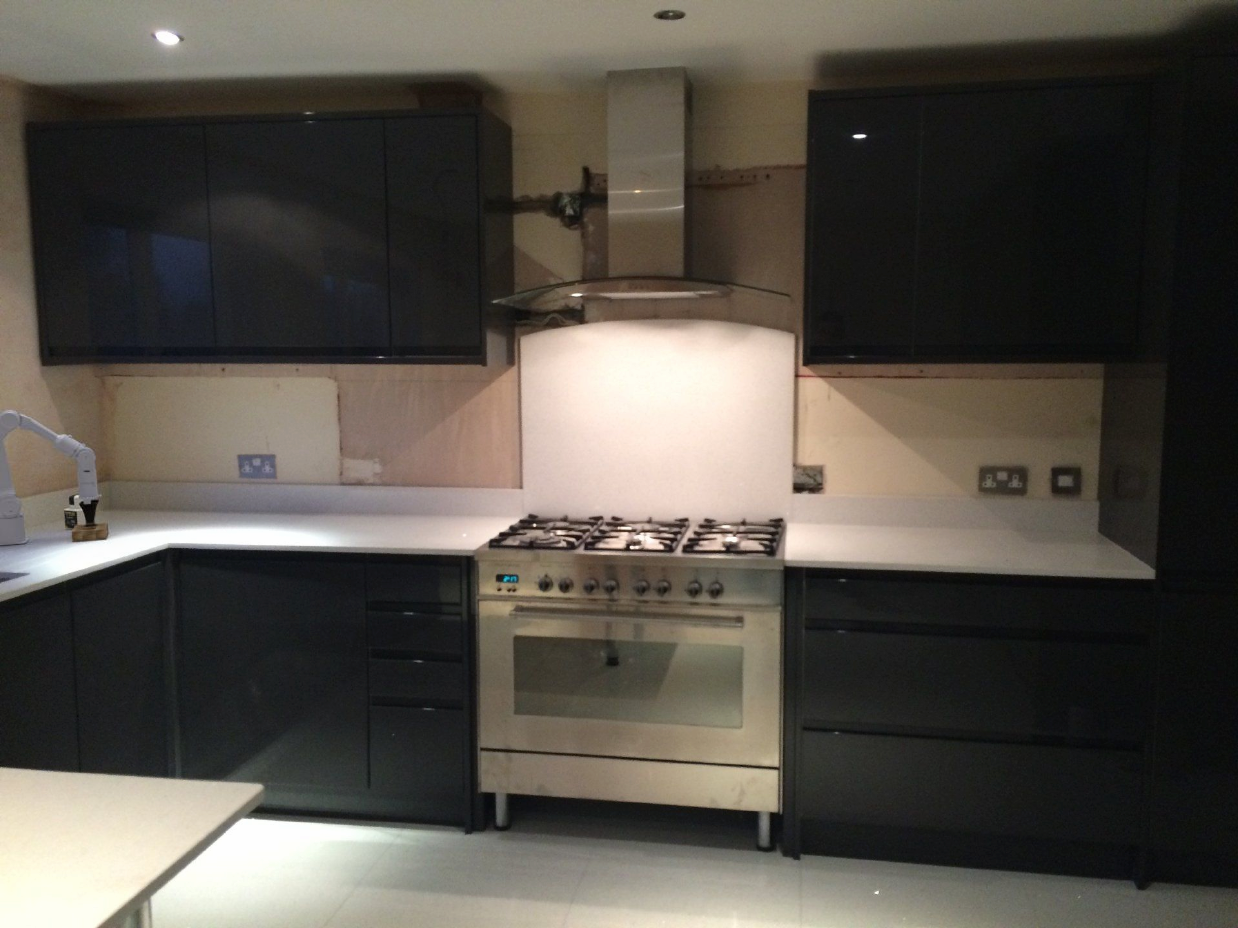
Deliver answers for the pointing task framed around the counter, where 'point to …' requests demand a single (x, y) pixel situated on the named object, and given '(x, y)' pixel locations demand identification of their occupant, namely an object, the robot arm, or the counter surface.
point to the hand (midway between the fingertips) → (90, 522)
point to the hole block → (90, 532)
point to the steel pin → (90, 523)
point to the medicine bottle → (74, 513)
